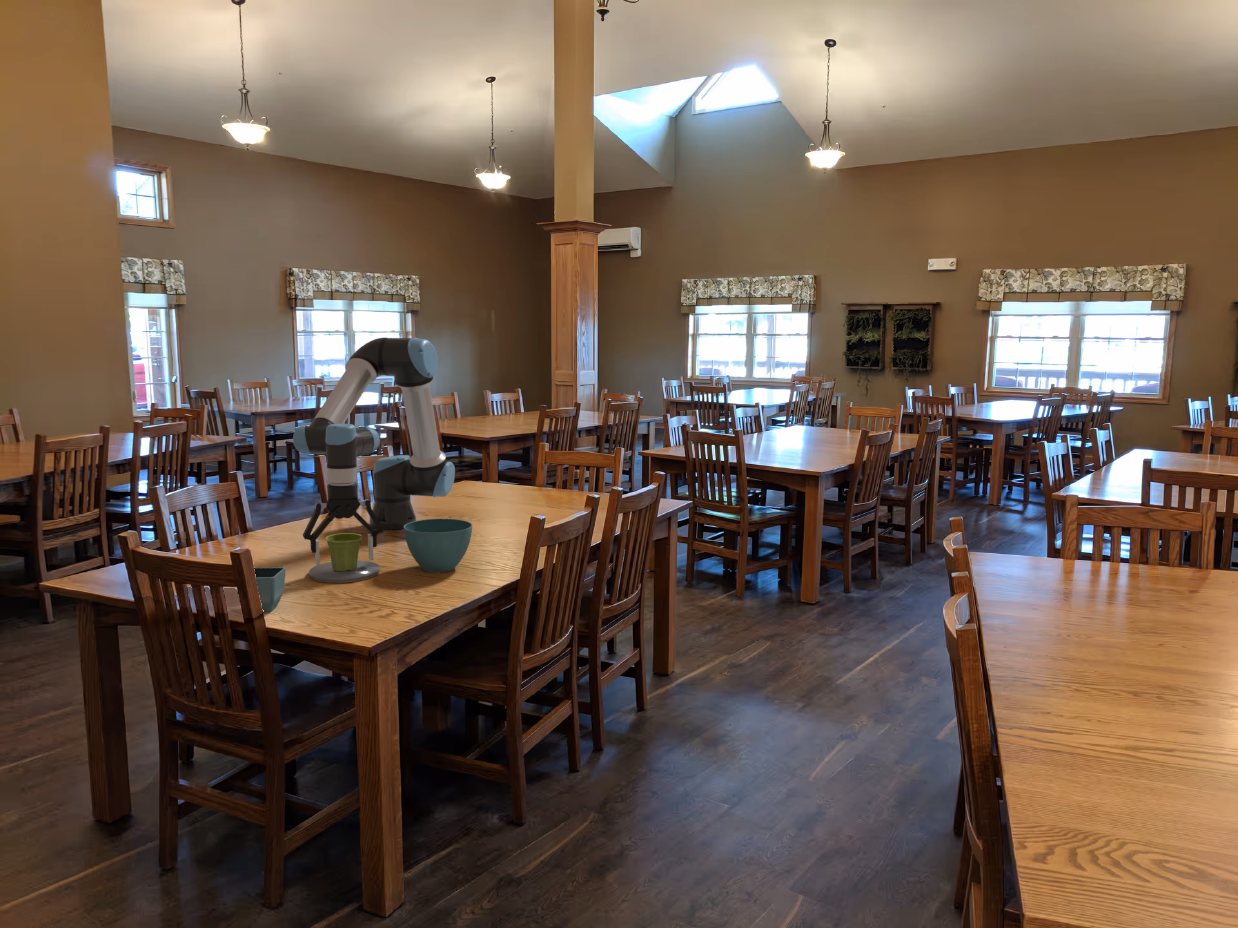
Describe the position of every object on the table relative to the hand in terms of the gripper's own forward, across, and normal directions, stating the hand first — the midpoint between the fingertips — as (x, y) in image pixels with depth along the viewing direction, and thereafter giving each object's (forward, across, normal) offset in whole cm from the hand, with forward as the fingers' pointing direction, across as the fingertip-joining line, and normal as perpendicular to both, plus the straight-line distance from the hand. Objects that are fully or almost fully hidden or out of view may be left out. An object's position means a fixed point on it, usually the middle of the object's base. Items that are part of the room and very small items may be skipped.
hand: (344, 561), depth 222 cm
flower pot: (+4, +22, +23) cm, 32 cm away
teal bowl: (+3, -24, +5) cm, 25 cm away
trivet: (+3, 0, 0) cm, 3 cm away
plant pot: (+2, 0, 0) cm, 2 cm away
